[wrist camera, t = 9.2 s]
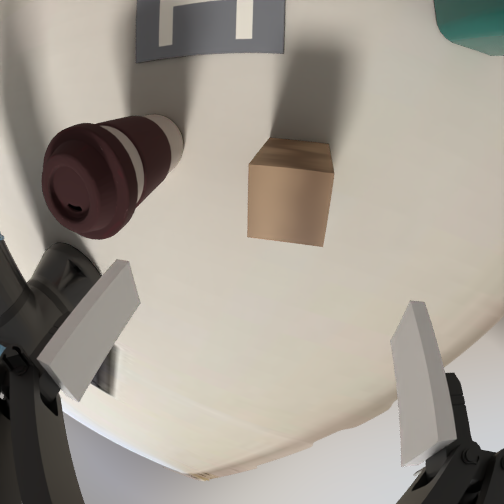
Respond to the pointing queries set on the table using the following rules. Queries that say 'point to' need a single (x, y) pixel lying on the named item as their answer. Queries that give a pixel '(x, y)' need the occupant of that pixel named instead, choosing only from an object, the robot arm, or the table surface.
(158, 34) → the letter mat
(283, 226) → the walnut block
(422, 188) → the table surface
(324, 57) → the table surface
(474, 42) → the pitcher
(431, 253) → the table surface
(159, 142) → the coffee cup
